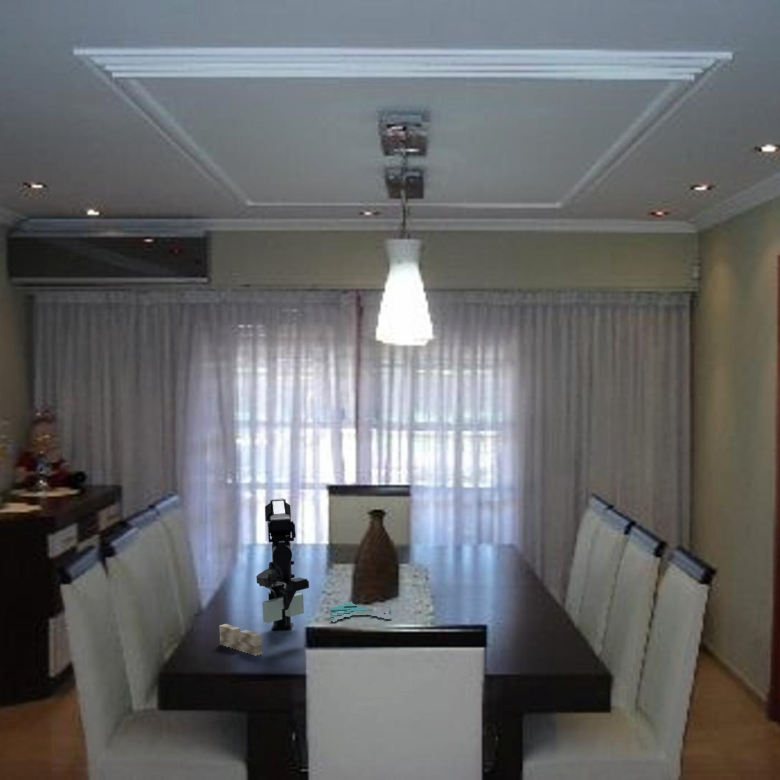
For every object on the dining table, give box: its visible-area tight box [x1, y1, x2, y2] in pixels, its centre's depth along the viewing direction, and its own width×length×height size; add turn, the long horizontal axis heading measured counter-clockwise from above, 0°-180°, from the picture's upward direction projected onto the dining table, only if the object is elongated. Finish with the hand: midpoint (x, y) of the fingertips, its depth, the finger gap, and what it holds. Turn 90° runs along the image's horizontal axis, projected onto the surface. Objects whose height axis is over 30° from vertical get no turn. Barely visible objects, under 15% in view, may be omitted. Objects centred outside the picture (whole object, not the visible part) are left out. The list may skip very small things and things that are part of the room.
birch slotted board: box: [218, 623, 263, 657], centre depth 293 cm, size 18×2×6 cm, turn 45°
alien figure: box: [329, 600, 392, 619], centre depth 331 cm, size 20×2×20 cm
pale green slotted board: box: [262, 592, 305, 624], centre depth 296 cm, size 14×2×6 cm, turn 136°
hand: (283, 609), depth 296 cm, fingers closed on pale green slotted board, 2 cm apart
